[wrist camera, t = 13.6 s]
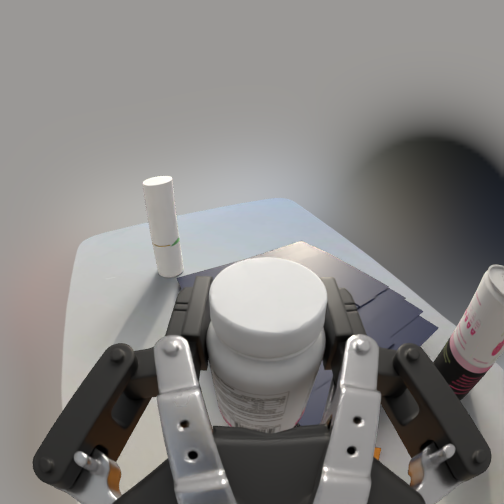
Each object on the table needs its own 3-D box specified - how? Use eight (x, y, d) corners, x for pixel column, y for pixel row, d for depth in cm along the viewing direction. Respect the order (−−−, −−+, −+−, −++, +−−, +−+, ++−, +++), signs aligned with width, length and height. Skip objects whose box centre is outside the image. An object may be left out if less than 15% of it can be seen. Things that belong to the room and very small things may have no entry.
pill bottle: (267, 356, 16) (275, 238, 12) (321, 406, 13) (367, 294, 9) (202, 395, 14) (173, 279, 9) (254, 456, 11) (259, 374, 6)
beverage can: (467, 369, 24) (527, 275, 17) (464, 409, 20) (542, 314, 12) (429, 356, 28) (482, 256, 20) (421, 396, 23) (492, 294, 15)
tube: (162, 280, 41) (145, 187, 33) (155, 266, 44) (139, 180, 36) (187, 272, 43) (176, 180, 35) (178, 259, 46) (167, 174, 38)
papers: (286, 456, 18) (289, 441, 17) (177, 293, 42) (173, 273, 41) (437, 337, 28) (447, 315, 27) (302, 253, 52) (302, 235, 51)
